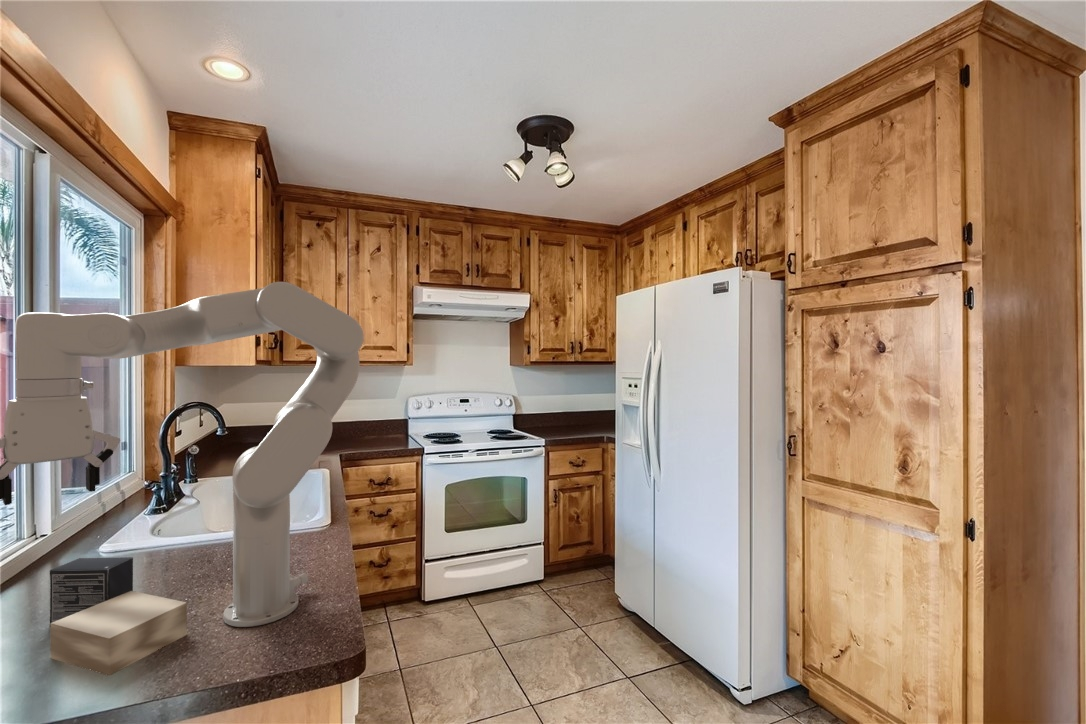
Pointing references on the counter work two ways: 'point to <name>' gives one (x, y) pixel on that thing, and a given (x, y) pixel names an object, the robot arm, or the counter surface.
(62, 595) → the small box
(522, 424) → the counter surface
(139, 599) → the birch block
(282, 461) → the robot arm
